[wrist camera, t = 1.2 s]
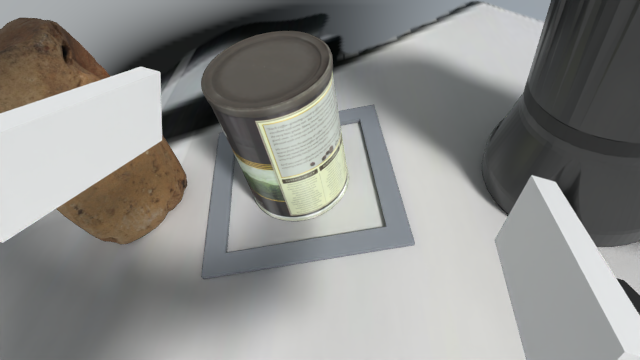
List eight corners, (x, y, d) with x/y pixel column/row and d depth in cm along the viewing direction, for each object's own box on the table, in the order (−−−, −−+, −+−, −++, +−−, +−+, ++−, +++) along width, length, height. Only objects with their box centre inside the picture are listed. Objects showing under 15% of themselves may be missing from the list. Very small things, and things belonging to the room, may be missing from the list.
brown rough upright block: (112, 263, 37) (-88, 99, 22) (87, 220, 41) (-95, 57, 26) (205, 196, 40) (90, 16, 25) (174, 162, 45) (59, -9, 30)
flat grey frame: (374, 107, 45) (373, 104, 45) (414, 245, 33) (414, 242, 33) (220, 136, 46) (219, 133, 46) (203, 279, 34) (201, 276, 34)
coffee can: (242, 222, 37) (181, 112, 27) (264, 147, 44) (221, 35, 33) (346, 223, 35) (323, 105, 25) (353, 145, 42) (337, 24, 31)
